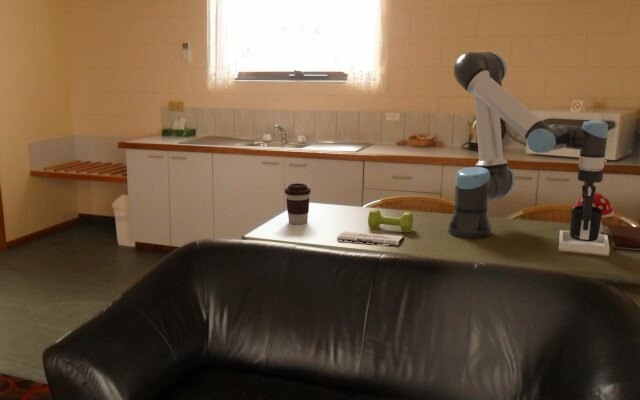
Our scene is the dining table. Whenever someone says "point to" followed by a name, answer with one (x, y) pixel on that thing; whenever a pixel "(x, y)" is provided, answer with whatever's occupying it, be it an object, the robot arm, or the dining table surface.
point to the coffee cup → (297, 203)
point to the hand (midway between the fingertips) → (583, 235)
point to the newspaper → (370, 238)
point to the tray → (584, 245)
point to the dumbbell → (390, 220)
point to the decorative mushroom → (600, 206)
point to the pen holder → (576, 222)
